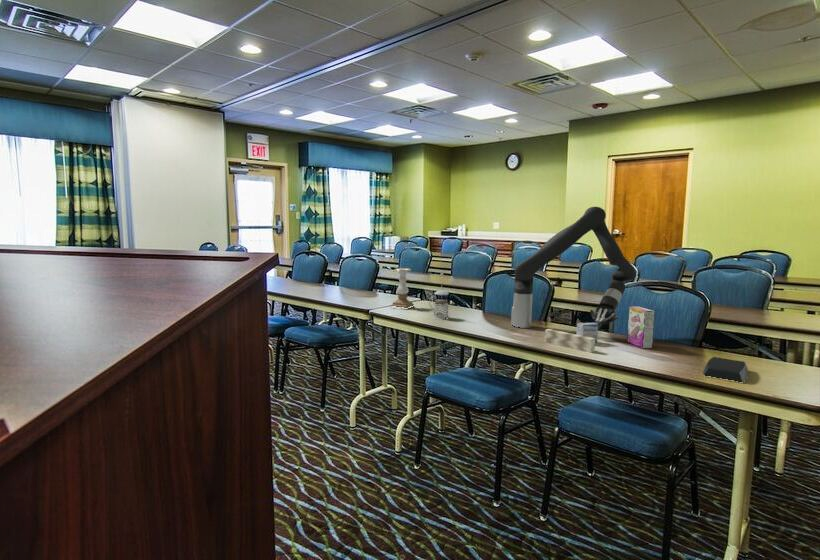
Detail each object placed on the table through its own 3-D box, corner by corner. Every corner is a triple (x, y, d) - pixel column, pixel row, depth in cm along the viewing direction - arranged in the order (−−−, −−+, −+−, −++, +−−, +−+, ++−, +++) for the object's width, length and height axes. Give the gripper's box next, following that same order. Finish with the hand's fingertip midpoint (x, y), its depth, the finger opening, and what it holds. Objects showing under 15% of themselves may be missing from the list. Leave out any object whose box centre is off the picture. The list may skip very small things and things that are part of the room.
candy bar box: (626, 342, 212) (628, 306, 210) (636, 342, 213) (638, 306, 211) (642, 348, 201) (645, 310, 199) (652, 348, 202) (655, 310, 200)
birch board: (544, 341, 211) (545, 329, 210) (548, 340, 213) (548, 328, 212) (590, 352, 194) (591, 339, 193) (594, 351, 196) (595, 338, 195)
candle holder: (414, 306, 294) (414, 268, 291) (406, 309, 284) (407, 270, 282) (398, 305, 299) (398, 267, 296) (390, 308, 289) (390, 269, 286)
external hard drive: (749, 372, 173) (751, 361, 172) (745, 385, 158) (747, 373, 157) (708, 364, 181) (709, 354, 181) (700, 377, 166) (701, 365, 166)
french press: (450, 319, 256) (451, 274, 253) (429, 319, 256) (429, 273, 253) (449, 316, 266) (450, 272, 263) (428, 315, 266) (429, 271, 263)
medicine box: (581, 344, 208) (583, 324, 207) (575, 341, 212) (576, 322, 211) (597, 343, 210) (598, 324, 209) (590, 340, 214) (592, 322, 213)
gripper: (594, 293, 225) (579, 321, 218) (622, 297, 215) (607, 327, 208) (599, 303, 229) (585, 331, 222) (626, 307, 219) (612, 337, 212)
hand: (595, 329), depth 215 cm, fingers closed
